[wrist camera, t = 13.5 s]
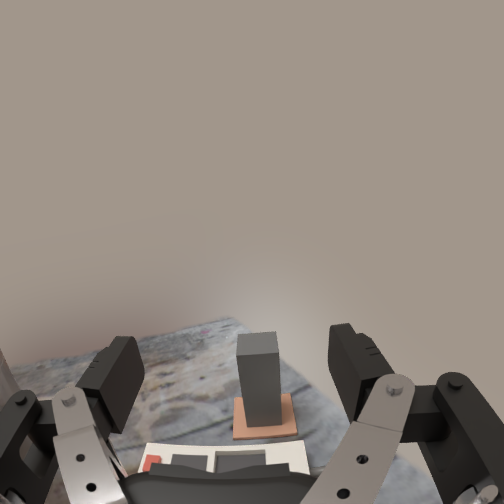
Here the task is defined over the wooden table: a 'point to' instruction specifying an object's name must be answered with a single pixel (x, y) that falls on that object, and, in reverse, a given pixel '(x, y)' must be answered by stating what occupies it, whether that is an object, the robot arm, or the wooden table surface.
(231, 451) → the power strip
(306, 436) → the wooden table surface
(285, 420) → the tile coaster
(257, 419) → the block
